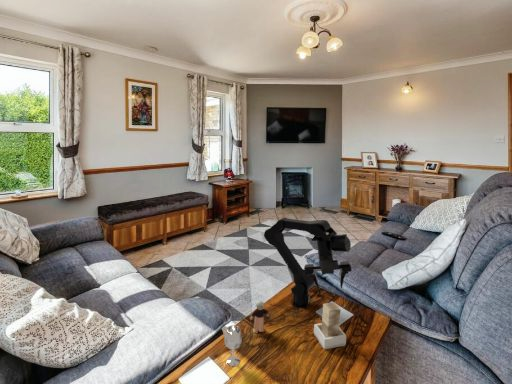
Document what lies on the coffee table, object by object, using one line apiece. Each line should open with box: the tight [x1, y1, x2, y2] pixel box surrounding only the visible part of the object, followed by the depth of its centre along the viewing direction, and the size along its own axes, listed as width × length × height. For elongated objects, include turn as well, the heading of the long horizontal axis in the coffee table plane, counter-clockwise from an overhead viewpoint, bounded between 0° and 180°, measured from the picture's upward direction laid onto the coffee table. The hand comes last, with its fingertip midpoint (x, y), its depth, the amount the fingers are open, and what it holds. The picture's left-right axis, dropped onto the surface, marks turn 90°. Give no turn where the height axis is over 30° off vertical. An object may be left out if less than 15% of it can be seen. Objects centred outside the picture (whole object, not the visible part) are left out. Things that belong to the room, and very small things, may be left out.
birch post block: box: [321, 301, 341, 338], centre depth 106 cm, size 4×4×13 cm
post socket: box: [313, 322, 347, 350], centre depth 107 cm, size 9×9×4 cm
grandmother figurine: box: [249, 300, 270, 334], centre depth 111 cm, size 8×4×13 cm, turn 117°
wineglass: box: [224, 324, 243, 367], centre depth 95 cm, size 6×6×12 cm
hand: (329, 288), depth 118 cm, fingers open, 9 cm apart
